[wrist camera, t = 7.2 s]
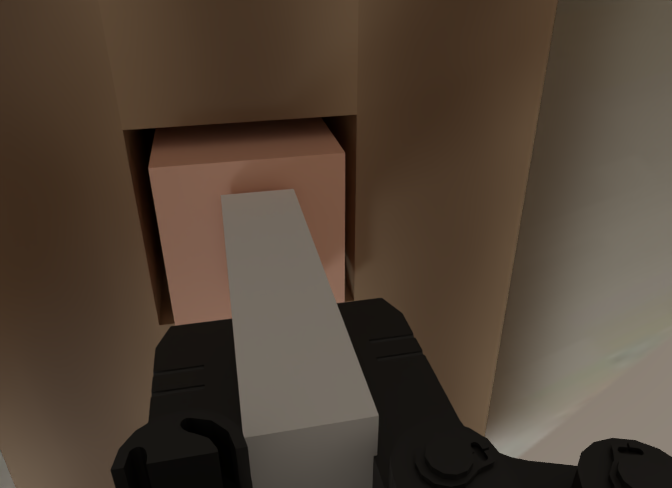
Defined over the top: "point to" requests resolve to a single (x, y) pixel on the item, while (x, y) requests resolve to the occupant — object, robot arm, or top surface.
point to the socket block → (232, 107)
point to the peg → (233, 178)
